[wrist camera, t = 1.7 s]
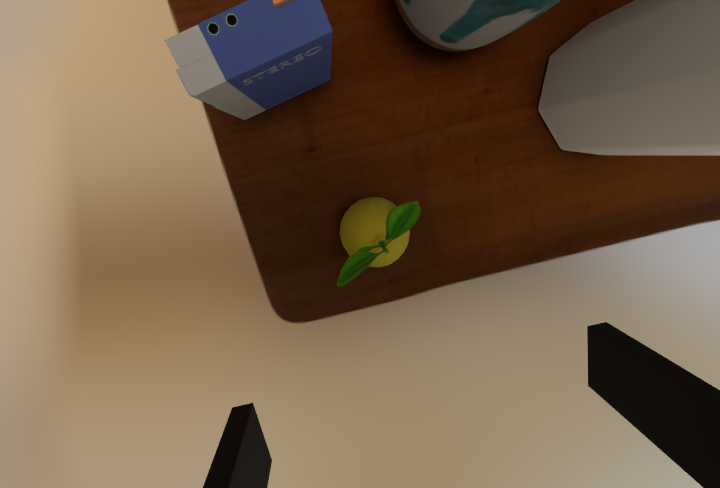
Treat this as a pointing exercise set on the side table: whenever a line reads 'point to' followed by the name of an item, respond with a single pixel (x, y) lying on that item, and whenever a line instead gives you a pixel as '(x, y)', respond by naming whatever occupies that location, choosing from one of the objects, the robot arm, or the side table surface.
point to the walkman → (255, 55)
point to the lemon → (375, 234)
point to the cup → (639, 82)
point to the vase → (468, 20)
